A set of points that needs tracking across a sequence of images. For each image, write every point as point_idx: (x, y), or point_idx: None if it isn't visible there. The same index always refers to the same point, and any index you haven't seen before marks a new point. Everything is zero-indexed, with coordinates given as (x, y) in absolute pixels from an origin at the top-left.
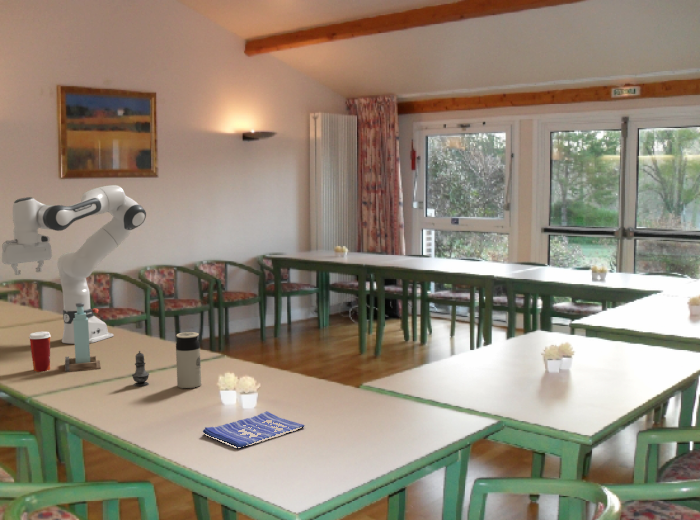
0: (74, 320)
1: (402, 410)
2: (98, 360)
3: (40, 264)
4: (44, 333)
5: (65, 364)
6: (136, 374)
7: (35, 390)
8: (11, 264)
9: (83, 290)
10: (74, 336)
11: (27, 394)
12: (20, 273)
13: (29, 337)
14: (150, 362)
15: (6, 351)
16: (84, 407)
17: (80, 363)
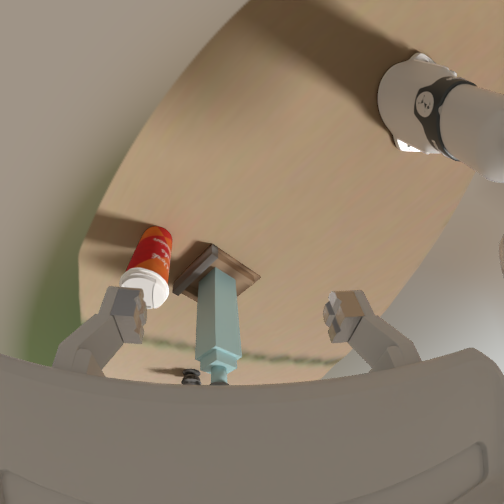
0: (198, 359)
1: None
2: (258, 277)
3: (373, 356)
4: (149, 302)
5: (172, 292)
6: (184, 384)
7: (95, 313)
8: (55, 364)
9: (502, 180)
10: (196, 329)
11: (82, 316)
12: (144, 321)
13: (121, 280)
14: (283, 332)
15: (249, 2)
16: (111, 372)
17: (197, 299)
